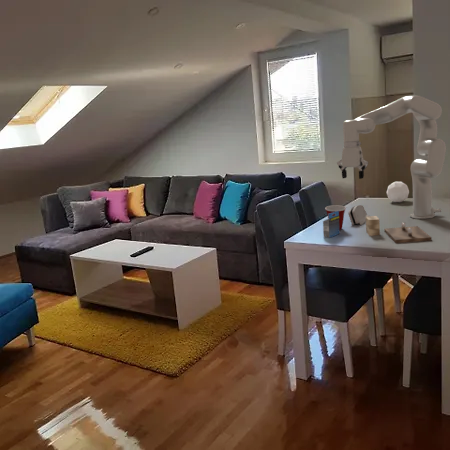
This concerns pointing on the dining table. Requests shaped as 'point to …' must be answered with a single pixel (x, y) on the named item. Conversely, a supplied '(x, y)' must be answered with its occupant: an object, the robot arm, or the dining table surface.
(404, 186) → the geodesic sphere
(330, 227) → the label tape box
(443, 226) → the dining table surface
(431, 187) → the robot arm
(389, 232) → the stub plate
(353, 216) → the white rounded slab
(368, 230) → the maple block
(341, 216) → the plastic cup
